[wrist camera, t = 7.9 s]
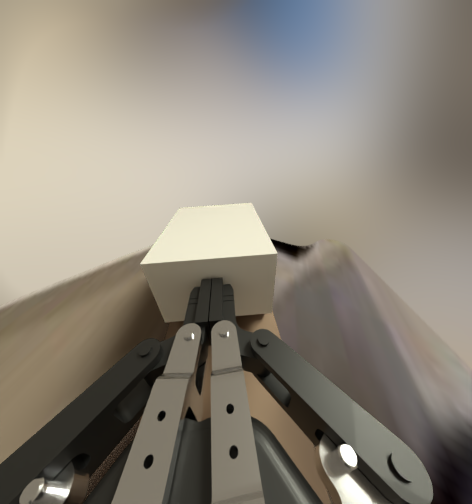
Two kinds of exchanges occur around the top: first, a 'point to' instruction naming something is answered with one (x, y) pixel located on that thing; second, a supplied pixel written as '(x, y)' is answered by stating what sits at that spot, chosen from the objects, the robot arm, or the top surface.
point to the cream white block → (212, 259)
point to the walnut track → (267, 406)
